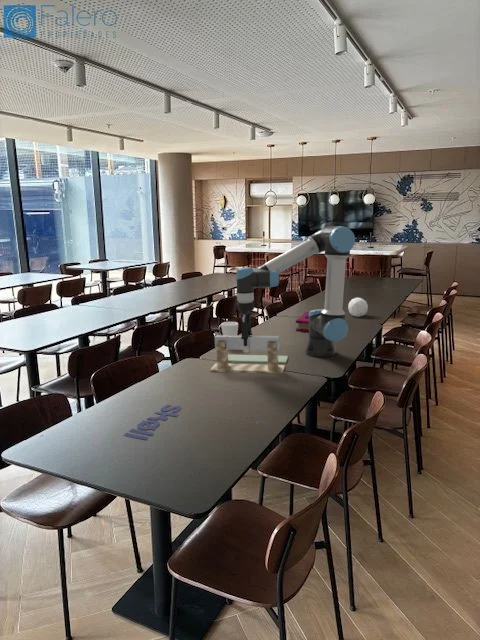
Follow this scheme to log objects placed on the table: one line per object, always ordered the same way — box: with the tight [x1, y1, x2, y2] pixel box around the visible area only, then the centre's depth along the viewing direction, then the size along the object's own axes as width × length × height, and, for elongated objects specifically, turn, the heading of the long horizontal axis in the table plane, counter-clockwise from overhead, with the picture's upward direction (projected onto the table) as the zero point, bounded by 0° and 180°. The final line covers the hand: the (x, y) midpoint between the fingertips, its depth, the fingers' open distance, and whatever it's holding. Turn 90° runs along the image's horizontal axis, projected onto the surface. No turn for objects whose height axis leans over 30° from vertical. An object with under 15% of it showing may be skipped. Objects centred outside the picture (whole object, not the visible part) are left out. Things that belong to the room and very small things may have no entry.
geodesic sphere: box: [347, 297, 369, 318], centre depth 331 cm, size 14×14×14 cm
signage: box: [123, 404, 182, 441], centre depth 170 cm, size 28×1×10 cm
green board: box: [228, 354, 289, 364], centre depth 239 cm, size 34×10×1 cm, turn 79°
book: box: [295, 311, 310, 333], centre depth 304 cm, size 21×28×8 cm
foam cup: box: [220, 321, 239, 336], centre depth 264 cm, size 10×9×13 cm
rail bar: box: [214, 334, 280, 351], centre depth 221 cm, size 30×3×6 cm, turn 79°
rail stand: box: [209, 341, 286, 375], centre depth 222 cm, size 34×10×14 cm, turn 79°
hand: (247, 350), depth 222 cm, fingers open, 5 cm apart
